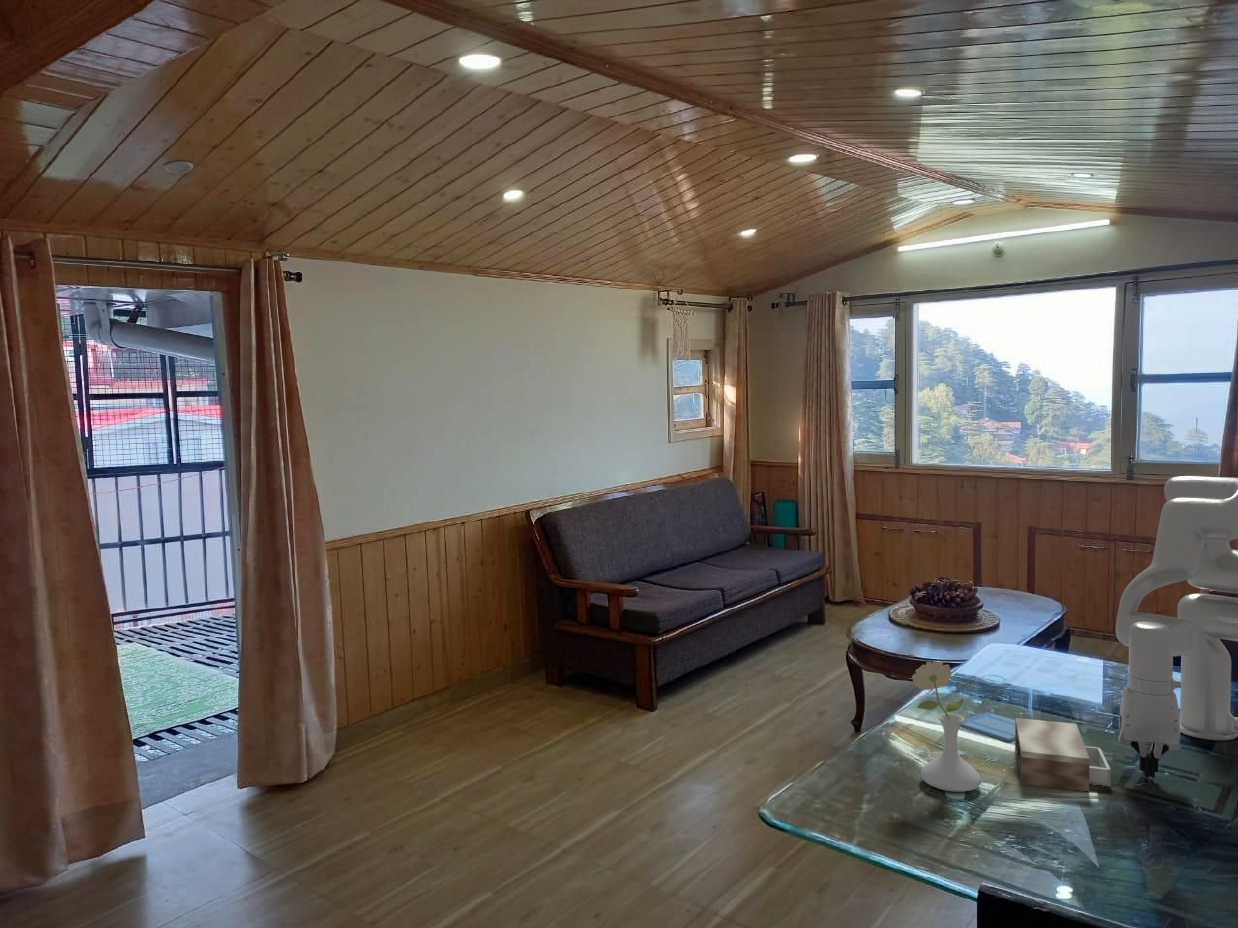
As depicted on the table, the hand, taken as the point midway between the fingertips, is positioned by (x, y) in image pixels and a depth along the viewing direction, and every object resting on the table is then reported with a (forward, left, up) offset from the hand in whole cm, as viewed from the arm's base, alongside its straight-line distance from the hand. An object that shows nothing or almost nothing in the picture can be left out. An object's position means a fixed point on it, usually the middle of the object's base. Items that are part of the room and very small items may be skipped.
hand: (1148, 774), depth 176 cm
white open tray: (+15, 0, -1) cm, 15 cm away
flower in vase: (+38, +15, -1) cm, 41 cm away
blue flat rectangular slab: (+27, -22, -2) cm, 35 cm away
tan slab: (+18, 0, -1) cm, 18 cm away
